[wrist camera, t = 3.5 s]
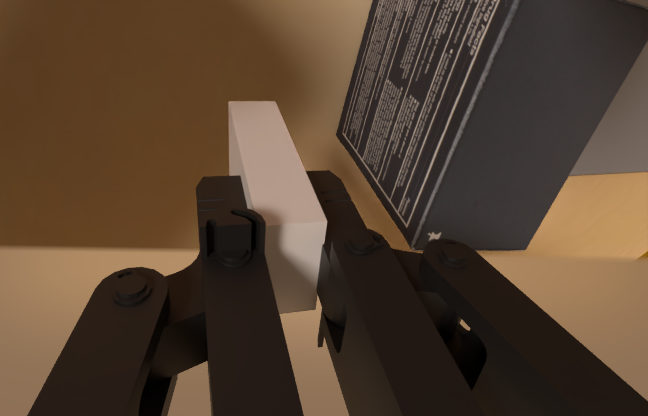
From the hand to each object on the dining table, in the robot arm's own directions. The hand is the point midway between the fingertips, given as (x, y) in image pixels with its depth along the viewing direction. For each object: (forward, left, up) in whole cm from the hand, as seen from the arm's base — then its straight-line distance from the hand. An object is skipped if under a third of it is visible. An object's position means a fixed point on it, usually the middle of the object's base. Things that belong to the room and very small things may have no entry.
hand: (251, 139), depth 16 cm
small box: (+10, 0, -9) cm, 14 cm away
